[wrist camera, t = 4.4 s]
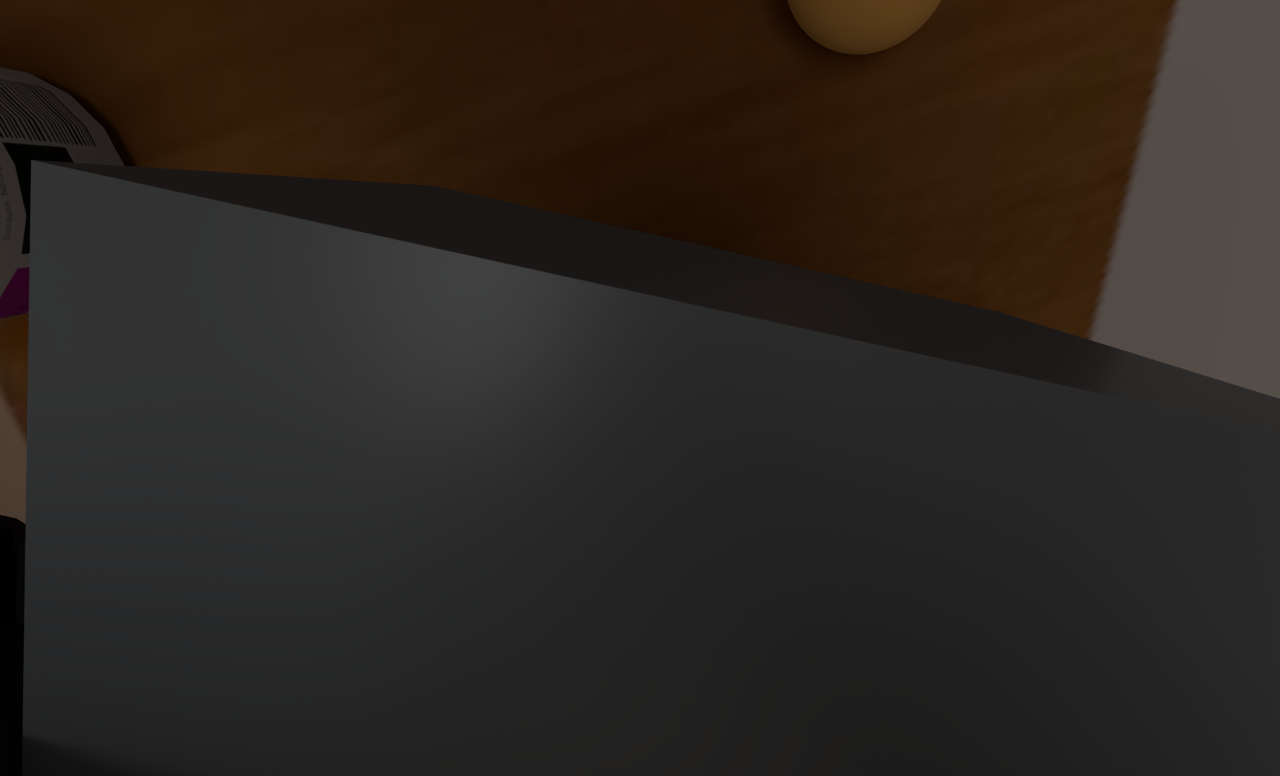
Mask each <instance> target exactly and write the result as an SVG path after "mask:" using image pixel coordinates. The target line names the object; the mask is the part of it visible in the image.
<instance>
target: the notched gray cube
mask: <svg viewBox="0 0 1280 776" xmlns="http://www.w3.org/2000/svg"><path fill="white" fill-rule="evenodd" d="M22 776H1280V399H1278V398H1275V397H1272V396H1269V395H1265V394H1262V393H1259V392H1256V391H1253V390H1249V389H1246V388H1243V387H1240V386H1236V385H1233V384H1230V383H1227V382H1224V381H1220V380H1217V379H1214V378H1211V377H1207V376H1204V375H1201V374H1198V373H1194V372H1191V371H1188V370H1185V369H1182V368H1178V367H1175V366H1172V365H1169V364H1165V363H1162V362H1159V361H1156V360H1152V359H1149V358H1146V357H1143V356H1139V355H1136V354H1133V353H1130V352H1127V351H1123V350H1120V349H1117V348H1114V347H1111V346H1107V345H1104V344H1101V343H1098V342H1094V341H1091V340H1088V339H1085V338H1081V337H1078V336H1075V335H1072V334H1069V333H1065V332H1062V331H1059V330H1056V329H1052V328H1049V327H1046V326H1043V325H1039V324H1036V323H1033V322H1030V321H1027V320H1023V319H1020V318H1017V317H1014V316H1010V315H1007V314H1004V313H1001V312H997V311H993V310H988V309H984V308H979V307H975V306H970V305H966V304H961V303H957V302H952V301H948V300H943V299H939V298H934V297H930V296H925V295H921V294H916V293H912V292H908V291H903V290H899V289H894V288H890V287H885V286H881V285H876V284H872V283H867V282H863V281H858V280H854V279H849V278H845V277H840V276H836V275H832V274H827V273H823V272H818V271H814V270H809V269H805V268H800V267H796V266H791V265H787V264H782V263H778V262H773V261H769V260H764V259H760V258H756V257H751V256H747V255H742V254H738V253H733V252H729V251H724V250H720V249H715V248H711V247H706V246H702V245H697V244H693V243H688V242H684V241H680V240H675V239H671V238H666V237H662V236H657V235H653V234H648V233H644V232H639V231H635V230H630V229H626V228H621V227H617V226H612V225H608V224H603V223H599V222H595V221H590V220H586V219H581V218H577V217H572V216H568V215H563V214H559V213H554V212H550V211H545V210H541V209H536V208H532V207H527V206H523V205H519V204H514V203H510V202H505V201H501V200H496V199H492V198H487V197H483V196H478V195H474V194H469V193H465V192H460V191H456V190H451V189H447V188H443V187H438V186H426V185H411V184H395V183H380V182H365V181H349V180H334V179H318V178H303V177H287V176H272V175H256V174H241V173H226V172H210V171H195V170H179V169H164V168H148V167H133V166H117V165H102V164H87V163H71V162H56V161H40V160H31V208H30V275H29V341H28V408H27V474H26V540H25V607H24V673H23V740H22Z"/></svg>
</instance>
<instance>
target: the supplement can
mask: <svg viewBox="0 0 1280 776" xmlns="http://www.w3.org/2000/svg"><path fill="white" fill-rule="evenodd" d="M31 160H40V161H56V162H71V163H87V164H102V165H117V166H124V164H123V162H122V160H121V158H120V157H119V155H118V153H117V151H116V149H115V147H114V146H113V144H112V142H111V140H110V138H109V136H108V134H107V133H106V131H105V129H104V128H103V127H102V126H101V125H100V124H99V123H98V122H97V121H96V120H95V119H94V118H93V117H92V116H91V115H90V114H89V113H88V112H87V111H86V110H85V109H84V108H83V107H82V106H81V105H80V104H79V103H78V102H77V101H76V100H75V99H74V98H73V97H72V96H71V95H69V94H68V93H66V92H64V91H62V90H60V89H58V88H56V87H54V86H52V85H51V84H49V83H47V82H45V81H43V80H41V79H39V78H37V77H35V76H34V75H32V74H30V73H26V72H21V71H16V70H11V69H6V68H1V67H0V319H1V318H6V317H11V316H16V315H21V314H26V313H29V275H30V208H31Z"/></svg>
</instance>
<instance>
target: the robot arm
mask: <svg viewBox="0 0 1280 776" xmlns="http://www.w3.org/2000/svg"><path fill="white" fill-rule="evenodd" d="M25 540H26V524H24V523H23V522H21V521H20V520H18V519H16V518H11V517H7V516H2V515H0V776H22V740H23V673H24V607H25Z"/></svg>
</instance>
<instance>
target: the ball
mask: <svg viewBox="0 0 1280 776" xmlns="http://www.w3.org/2000/svg"><path fill="white" fill-rule="evenodd" d="M787 1H788V4H789V7H790V10H791V12H792V14H793V16H794V18H795V20H796V21H797V23H798V24H799V26H800V27H801V28H802V29H803V30H804V32H805V33H806V34H807V35H808V36H809V37H811V38H812V39H813V40H814V41H815V42H817V43H819V44H820V45H822V46H823V47H826V48H828V49H830V50H832V51H836V52H839V53H845V54H852V55H864V54H870V53H875V52H879V51H882V50H885V49H888V48H890V47H892V46H895V45H897V44H899V43H900V42H902V41H904V40H905V39H907V38H908V37H909V36H911V35H912V34H913V33H914V32H916V31H917V30H918V29H919V28H920V27H921V26H922V25H923V24H924V23H925V22H926V21H927V20H928V19H929V18H930V16H931V15H932V14H933V12H934V11H935V10H936V8H937V7H938V5H939V3H940V2H941V0H787Z"/></svg>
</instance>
